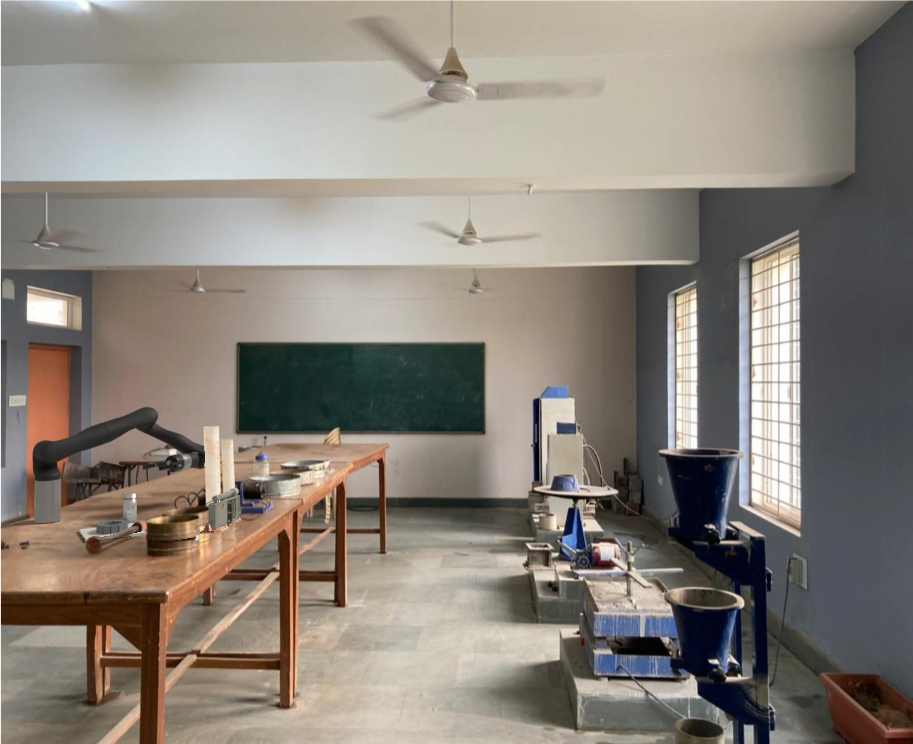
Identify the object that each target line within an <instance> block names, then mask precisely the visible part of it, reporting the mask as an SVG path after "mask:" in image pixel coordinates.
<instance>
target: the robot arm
mask: <svg viewBox="0 0 913 744" xmlns="http://www.w3.org/2000/svg"><path fill="white" fill-rule="evenodd" d="M158 419H159V413H158V411H157V409H156V408H153V407H151V406H145V407H144V406H143V407H141V408H138V409H136V410H134V411H132V412H130V413H127V414H124V415H123V416H119V417H118V416H117V417H115V418H112V419H109V420H107V421H104V422H102V421H101V422H99V423H97V424H94V425H91V426H88V427H87V428H85V429H83V430H81V431H80V432H78V433H75V434H74V435H71V436H70V437H65V438H62V439H58V440H47V439H46V440H45V439H44V440H40V441H39V442H37V443H36V444H35V445H34V446H33V448H32V449H33V450H32V455H31V456H32V473H33V475H34V498H33V521H34V524H35V525H36V524H52V523H56V522H59V521H61V520H62V517H61V516H62V486H61V485H62V472H61V471H60V469H59V466H58V463H59V462H60V461H62V460H64V459H65V460H66V458H68V457H71V456H73V455H75V454H77V453H80V452H83V451H87V450H90V449H94V448H96V447H100V446H103V445H106V444H108V443H110V442H112V441H115V440H117V439H118V438H120V437H122V436H123V435H125V434H127V433H128V432H129V431H132V430H135V429H136V430H137V431H139V432H141V433H144V434H146V435H148V436H151V438H155V439H157V440H158V441H161V442H163V443H165V444H166V445H169V446H170V447H172V448H173V449H174V450H177V451H178V452H179V453H178V454H172V455H168V456H167V457H166V458H165V460H164V459H162V460H154V461H148V462H146V463H145V464H142V470H143V471H145V470H151V469H154V470H158V471H161V472H162V471H165V470H166V471H168V472H169V473H177V472H180V471H181V472H182V471H185V470H189V469H197V470H203V469H205V468H206V467H204V463H205V451H204V446H205V445H202V444H200V443H196V442H195V441H192V440H191V439H190V438H188V437H187V436H185V435H183V434H181V433H179V432H175V431H173V430H169V429H166V428H164V427H163V426H160V425H159V424H158V423H157V421H158ZM51 522H52V523H51Z"/></svg>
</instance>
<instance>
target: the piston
mask: <svg viewBox="0 0 913 744" xmlns="http://www.w3.org/2000/svg"><path fill="white" fill-rule="evenodd" d="M122 503H123V504H122V513H123V514H122V517H123V518H122V520H126V521H128V524H129V523H134V522H137V519H138V516H137V514H138V513H137V512H138V511H137V510H138V505H137V504H138V493H137V492H135V491H133V492H132V491H131V492H124V493H123V495H122Z"/></svg>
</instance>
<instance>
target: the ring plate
mask: <svg viewBox="0 0 913 744" xmlns="http://www.w3.org/2000/svg"><path fill="white" fill-rule="evenodd" d="M133 524H134V523H129V524H128V521H126V520H123V519H115V520H114V519H113V520H110V519H109V520H106V521H105V520H104V521H100V522H97V523H96V527H88V528H80V529H79V528H78V533H79V534H80V536H81V535H82V536H81V538H84V539H85V540H84V539H83V540H84V542H86V540H87V539H88V538H89V537H92V536H99V537H104V536H110V535H113V534H116V533H118V532H120V531H124V530H126V529H128V528H129V527H131V526H132V525H133ZM130 536H131V537H130V538H133V537H134V538H135V537H140V536H142V537H143V536H147V532H146V530H144V529H143V531H141V532H137V533H133V534H131V535H130Z"/></svg>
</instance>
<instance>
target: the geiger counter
mask: <svg viewBox="0 0 913 744" xmlns="http://www.w3.org/2000/svg"><path fill="white" fill-rule="evenodd" d="M239 492H240V490H239V489H238V488H237V487H233V488H231V489H229V490H227V491H224V492H221V493H219V495H218V494H216V495H213V496H212V497H211V500H210V501H208V502H206V503H205V504H204V506H205V507H207V508H208V518H209V519H208V523H207V524H210V526H211V528H212V530H216V529H218V528H219V527H222V526H225V525H229V524H231V523H233V522H234V521H236V520H238V519H239V520H240V515H241V514H242V506H241V504H240V503H241V502H240V496H241V495H240V494H239ZM238 494H239V495H238ZM219 500H220V502H219ZM217 501H218V502H217Z"/></svg>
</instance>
